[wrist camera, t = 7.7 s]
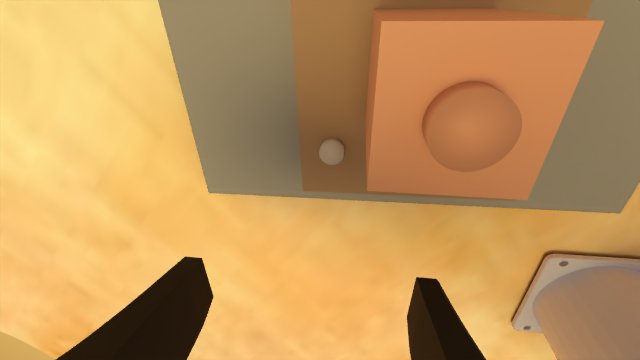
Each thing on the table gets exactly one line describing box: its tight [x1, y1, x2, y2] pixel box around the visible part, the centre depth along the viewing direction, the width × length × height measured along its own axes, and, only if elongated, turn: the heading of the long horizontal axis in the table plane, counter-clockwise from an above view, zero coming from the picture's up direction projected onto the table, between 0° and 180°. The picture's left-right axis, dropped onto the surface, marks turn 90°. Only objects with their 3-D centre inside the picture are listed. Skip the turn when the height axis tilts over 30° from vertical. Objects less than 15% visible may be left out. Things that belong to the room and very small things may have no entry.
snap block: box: [365, 8, 604, 200], centre depth 10 cm, size 4×4×7 cm
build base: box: [158, 0, 640, 213], centre depth 13 cm, size 24×16×3 cm, turn 92°
